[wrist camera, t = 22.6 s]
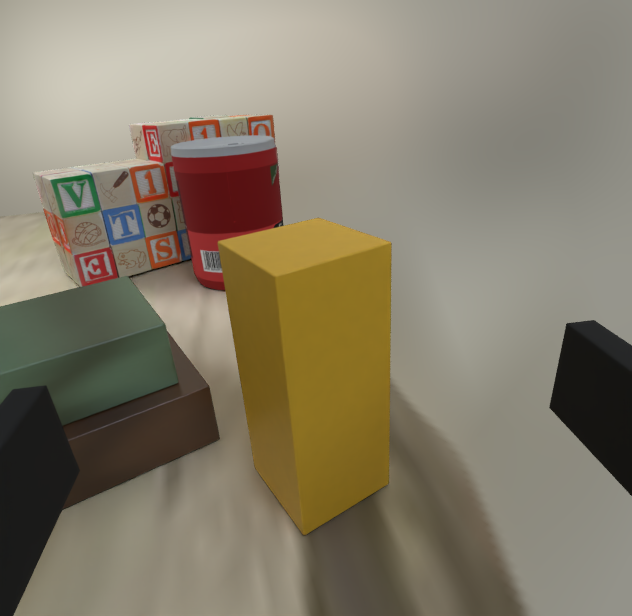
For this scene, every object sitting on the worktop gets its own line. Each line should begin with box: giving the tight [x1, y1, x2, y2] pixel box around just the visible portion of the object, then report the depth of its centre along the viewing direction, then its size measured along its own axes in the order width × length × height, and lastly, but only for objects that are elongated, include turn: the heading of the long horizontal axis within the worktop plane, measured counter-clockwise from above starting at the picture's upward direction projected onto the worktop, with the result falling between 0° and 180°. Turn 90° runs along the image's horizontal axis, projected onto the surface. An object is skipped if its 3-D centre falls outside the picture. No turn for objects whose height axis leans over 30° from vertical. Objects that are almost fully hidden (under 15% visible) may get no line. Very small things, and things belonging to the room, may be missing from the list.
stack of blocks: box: [33, 115, 279, 287], centre depth 44 cm, size 21×6×12 cm, turn 130°
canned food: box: [171, 135, 283, 290], centre depth 37 cm, size 8×8×11 cm
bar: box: [218, 218, 391, 535], centre depth 16 cm, size 4×4×10 cm
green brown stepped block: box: [0, 276, 220, 509], centre depth 21 cm, size 9×9×6 cm
